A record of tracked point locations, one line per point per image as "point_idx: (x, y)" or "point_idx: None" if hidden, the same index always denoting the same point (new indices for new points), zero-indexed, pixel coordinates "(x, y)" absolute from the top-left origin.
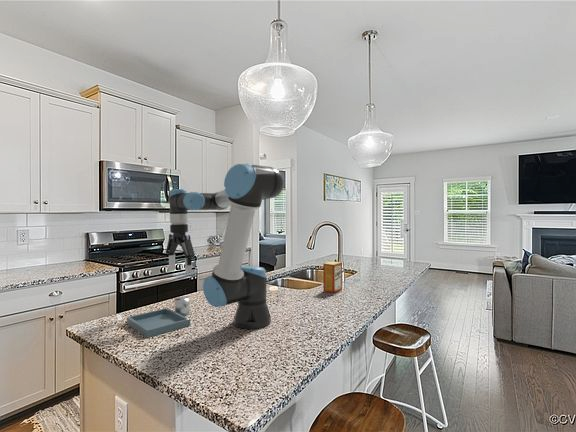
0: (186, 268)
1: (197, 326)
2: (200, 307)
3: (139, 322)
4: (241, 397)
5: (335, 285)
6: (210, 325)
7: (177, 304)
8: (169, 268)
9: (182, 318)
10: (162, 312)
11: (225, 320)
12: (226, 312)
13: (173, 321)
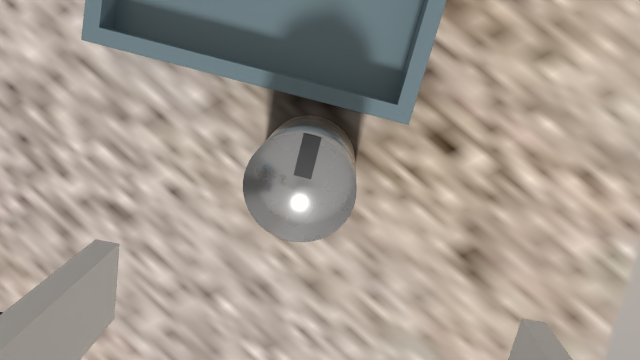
0: (58, 274)
1: (57, 51)
2: (311, 301)
3: None
4: None
5: None
6: (13, 101)
7: (289, 128)
8: (543, 332)
9: (158, 42)
10: (402, 80)
11: (12, 200)
12: None
13: (220, 17)
